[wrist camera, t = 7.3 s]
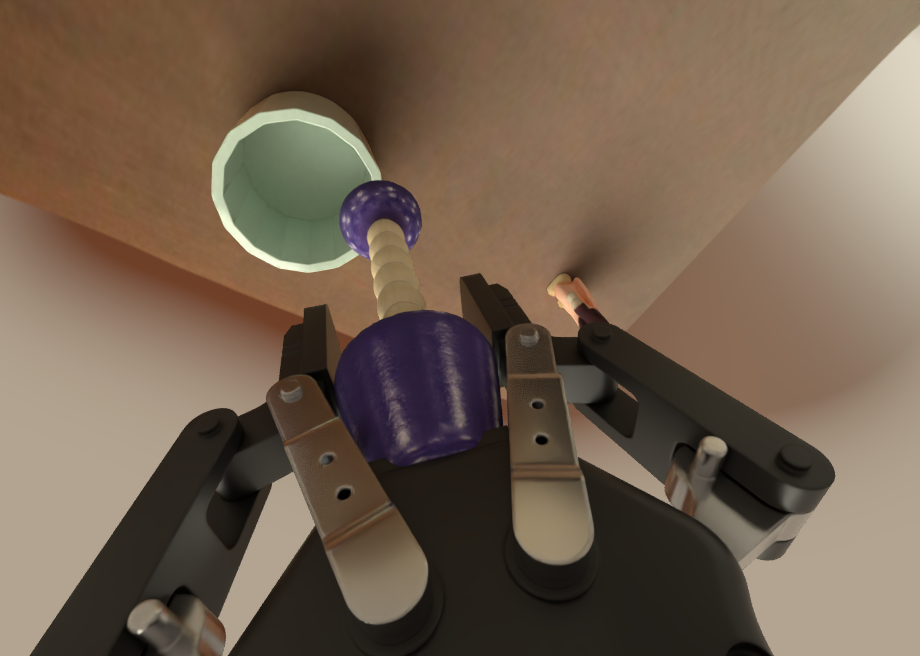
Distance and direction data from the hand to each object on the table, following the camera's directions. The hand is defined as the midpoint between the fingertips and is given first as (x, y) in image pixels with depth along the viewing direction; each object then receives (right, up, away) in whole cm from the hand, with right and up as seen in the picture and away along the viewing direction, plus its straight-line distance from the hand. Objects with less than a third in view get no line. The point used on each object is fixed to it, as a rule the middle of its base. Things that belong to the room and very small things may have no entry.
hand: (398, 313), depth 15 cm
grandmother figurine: (+13, +4, +31) cm, 34 cm away
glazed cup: (-10, +12, +18) cm, 24 cm away
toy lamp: (-2, +5, +8) cm, 10 cm away
